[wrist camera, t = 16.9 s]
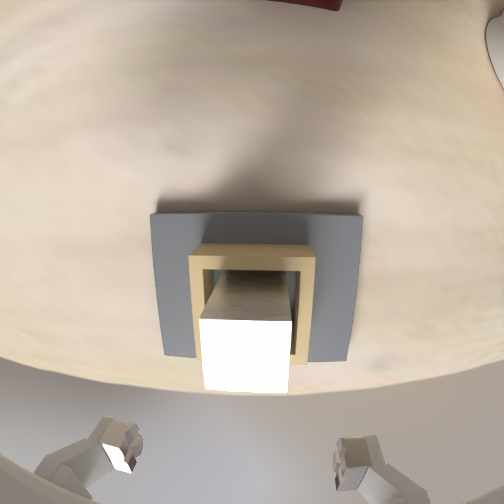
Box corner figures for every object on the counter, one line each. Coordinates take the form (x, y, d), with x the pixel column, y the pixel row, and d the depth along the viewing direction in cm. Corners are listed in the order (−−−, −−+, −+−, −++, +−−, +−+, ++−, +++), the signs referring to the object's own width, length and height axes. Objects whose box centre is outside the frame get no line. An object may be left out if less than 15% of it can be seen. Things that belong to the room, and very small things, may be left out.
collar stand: (357, 214, 26) (378, 223, 20) (343, 353, 29) (354, 385, 24) (156, 212, 27) (130, 221, 21) (168, 347, 30) (151, 378, 25)
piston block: (284, 267, 26) (291, 321, 16) (282, 320, 27) (286, 392, 17) (225, 266, 26) (198, 318, 16) (227, 319, 27) (205, 388, 17)
